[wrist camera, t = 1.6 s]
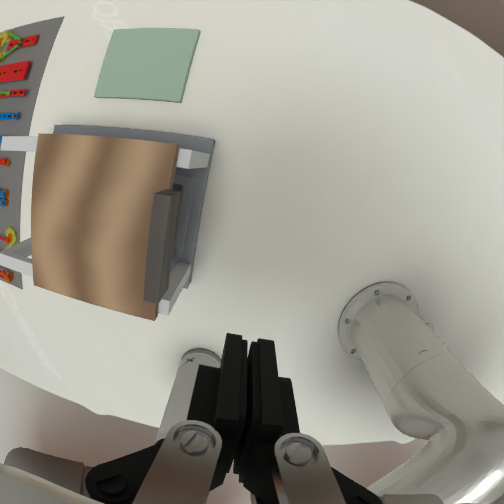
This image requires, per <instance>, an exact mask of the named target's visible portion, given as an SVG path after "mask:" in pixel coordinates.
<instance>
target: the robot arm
mask: <svg viewBox="0 0 504 504" xmlns="http://www.w3.org/2000/svg"><path fill="white" fill-rule="evenodd" d="M433 329H434V326H433V324H428V323H425V322H424V321H423V320H422V319H421V318H420V317H419V316H418V306H417V303H416V300H415V298H414V296H413V295H412V294H411V293H410V292H409V291H408V290H407V289H406V288H405V287H403V286H401V285H399V284H396V283H391V282H389V283H379V284H375V285H373V286H370V287H368V288H366V289H364V290H363V291H361V292H360V293H359V294H357V295H356V296H355V297H354V298H353V299H352V300H351V301H350V302H349V303H348V305H347V306H346V308H345V310H344V311H343V313H342V316H341V318H340V322H339V326H338V334H339V339H340V342H341V344H342V346H343V348H344V349H345V351H346V352H347V353H348V354H349V355H351V356H353V357H354V358H357V359H360V360H362V361H363V363H364V365H365V367H366V369H367V371H368V373H369V376H370V378H371V380H372V382H373V384H374V386H375V388H376V390H377V392H378V394H379V396H380V398H381V400H382V402H383V404H384V406H385V409H386V411H387V413H388V415H389V417H390V419H391V421H392V423H393V424H394V426H395V427H396V428H397V429H398V430H399V431H400V432H402V433H403V434H405V435H408V436H410V437H414V438H419V439H424V440H429V442H428V444H427V445H426V446H425V447H424V448H423V449H421V450H420V451H419V452H418V453H417V454H415V456H413V457H412V458H411V459H409V460H408V461H407V462H405V463H404V464H402V465H401V466H399V467H398V468H396V469H395V470H394V471H392V472H390V473H389V474H387V475H386V476H384V477H383V478H381V479H380V480H378V481H377V482H375V483H373V484H372V485H371V486H369V487H368V488H365V487H363V486H361V485H359V484H358V483H356V482H354V481H353V480H351V479H349V478H348V477H346V476H344V475H343V474H342V473H340V472H338V471H337V470H335V469H334V468H332V467H331V466H330V463H329V461H328V459H327V456H326V454H325V451H324V449H323V447H322V446H321V444H320V443H319V442H318V441H317V440H316V439H314V438H313V437H311V436H309V435H306V434H302V433H300V430H299V424H298V418H297V412H296V406H295V400H294V394H293V388H292V382H291V379H290V378H283V377H278V369H277V361H276V353H275V344H274V341H272V340H266V339H258V340H257V342H253V341H252V342H251V346H250V350H249V354H248V358H247V340H242V335H236V334H230V333H227V335H226V340H225V345H224V350H223V355H222V360H221V365H220V368H217V367H212V366H206V365H201V364H199V367H198V371H197V376H196V380H195V384H194V389H193V393H192V397H191V402H190V406H189V411H188V415H187V420H185V421H182V422H178V423H177V424H175V425H173V426H172V427H171V429H170V430H169V431H168V433H167V435H166V437H165V439H164V441H163V442H161V443H158V444H156V445H153V446H151V447H148V448H145V449H143V450H141V451H138V452H135V453H132V454H129V455H127V456H124V457H121V458H118V459H115V460H112V461H109V462H106V463H103V464H100V465H97V466H95V467H91V466H86V465H84V464H83V462H78V461H74V460H69V459H65V458H60V457H56V456H53V455H49V454H45V453H41V452H38V451H35V450H31V449H28V448H22V447H19V448H15V449H13V450H11V451H10V452H9V453H8V455H7V456H6V459H5V462H4V464H1V463H0V504H206V501H207V498H208V495H209V491H211V490H213V489H215V488H216V487H218V486H220V485H221V484H223V481H224V478H225V475H226V473H229V471H230V468H231V465H232V462H233V459H234V467H233V473H234V474H239V482H241V483H243V486H244V487H245V488H246V489H247V490H249V491H250V492H251V503H252V504H504V405H503V404H502V403H501V402H500V401H499V400H497V399H496V398H495V397H494V396H493V395H492V394H491V393H490V392H488V391H487V390H486V389H485V388H484V387H483V386H482V385H481V384H480V383H479V382H478V381H477V380H476V378H475V377H474V376H473V375H472V374H471V373H470V372H469V371H468V370H467V369H466V368H465V366H464V365H463V364H462V363H461V362H460V361H459V360H458V359H457V357H456V356H455V355H454V354H453V353H452V352H451V351H450V350H449V348H448V347H447V346H446V345H445V344H444V343H443V342H442V341H441V340H440V339H439V337H438V336H437V335H436V334H435V333H434V332H433Z"/></svg>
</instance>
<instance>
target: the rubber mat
mask: <svg viewBox="0 0 504 504" xmlns="http://www.w3.org/2000/svg"><path fill="white" fill-rule="evenodd" d="M199 35H200V30H197V29H177V28H137V29H118V30H114V31H113V34H112V37H111V40H110V43H109V46H108V49H107V52H106V55H105V58H104V61H103V65H102V68H101V72H100V75H99V79H98V83H97V87H96V91H95V95H94V97H96V98H124V99H143V100H157V101H168V102H178V103H181V102H182V98H183V94H184V90H185V86H186V82H187V78H188V74H189V70H190V66H191V63H192V59H193V55H194V52H195V48H196V45H197V42H198V38H199Z"/></svg>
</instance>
